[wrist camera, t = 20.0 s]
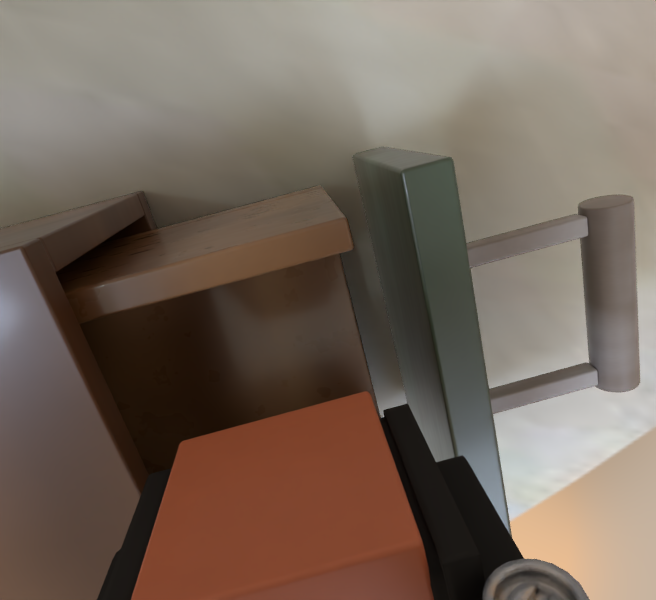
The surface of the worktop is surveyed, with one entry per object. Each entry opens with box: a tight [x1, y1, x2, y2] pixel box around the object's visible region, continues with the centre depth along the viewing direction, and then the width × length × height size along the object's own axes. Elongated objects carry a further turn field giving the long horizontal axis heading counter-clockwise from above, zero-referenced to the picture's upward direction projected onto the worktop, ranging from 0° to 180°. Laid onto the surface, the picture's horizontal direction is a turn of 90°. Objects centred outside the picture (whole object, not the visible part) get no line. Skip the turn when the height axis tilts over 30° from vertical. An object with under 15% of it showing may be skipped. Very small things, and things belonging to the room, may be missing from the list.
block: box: [131, 391, 434, 600], centre depth 9 cm, size 4×4×4 cm
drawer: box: [56, 147, 640, 537], centre depth 16 cm, size 19×11×7 cm, turn 104°
